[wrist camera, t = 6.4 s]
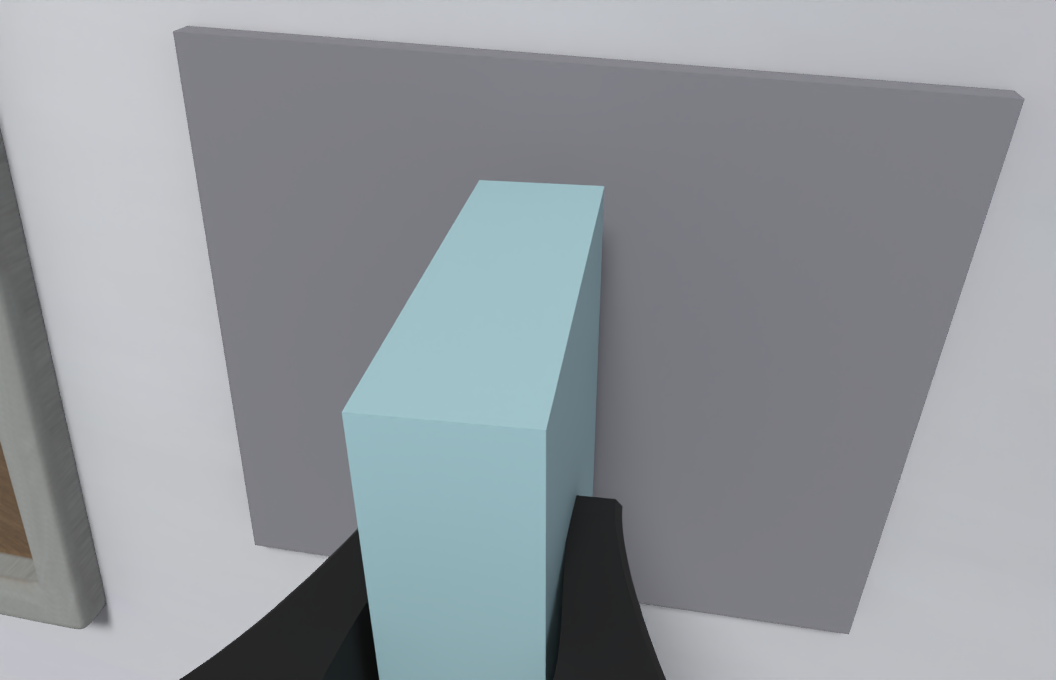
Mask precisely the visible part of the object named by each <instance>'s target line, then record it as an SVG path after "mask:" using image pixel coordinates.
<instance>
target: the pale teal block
mask: <svg viewBox="0 0 1056 680" xmlns="http://www.w3.org/2000/svg"><path fill="white" fill-rule="evenodd" d="M603 210H604V186H592V185H571V184H550V183H529V182H509V181H488V180H479V181H478V183H477V185H476V186H475V188H474V190H473V192H472V193H471V195H470V197H469V198H468V200H467V202H466V203H465V205H464V207H463V208H462V210H461V212H460V213H459V215H458V217H457V219H456V220H455V222H454V224H453V225H452V227H451V229H450V230H449V232H448V234H447V235H446V237H445V239H444V240H443V242H442V244H441V245H440V247H439V249H438V251H437V252H436V254H435V256H434V257H433V259H432V261H431V262H430V264H429V266H428V267H427V269H426V271H425V272H424V274H423V276H422V278H421V279H420V281H419V283H418V284H417V286H416V288H415V289H414V291H413V293H412V294H411V296H410V298H409V299H408V301H407V303H406V305H405V306H404V308H403V310H402V311H401V313H400V315H399V316H398V318H397V320H396V321H395V323H394V325H393V326H392V328H391V330H390V331H389V333H388V335H387V337H386V338H385V340H384V342H383V343H382V345H381V347H380V348H379V350H378V352H377V353H376V355H375V357H374V358H373V360H372V362H371V364H370V365H369V367H368V369H367V370H366V372H365V374H364V375H363V377H362V379H361V380H360V382H359V384H358V385H357V387H356V389H355V390H354V392H353V394H352V396H351V397H350V399H349V401H348V402H347V404H346V406H345V407H344V409H343V411H342V418H343V425H344V432H345V439H346V446H347V453H348V460H349V467H350V475H351V482H352V489H353V496H354V503H355V510H356V517H357V524H358V531H359V539H360V546H361V553H362V560H363V567H364V574H365V581H366V588H367V595H368V602H369V610H370V617H371V624H372V631H373V638H374V645H375V652H376V659H377V666H378V673H379V680H554V674H555V669H556V664H557V659H558V651H559V642H560V634H561V616H562V598H563V579H564V560H565V543H566V538H567V534H568V529H569V524H570V520H571V516H572V511H573V507H574V503H575V499H576V496H577V495H579V496H589V497H593V477H594V450H595V423H596V396H597V370H598V343H599V316H600V290H601V263H602V236H603Z"/></svg>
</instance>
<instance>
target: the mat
mask: <svg viewBox="0 0 1056 680" xmlns="http://www.w3.org/2000/svg"><path fill="white" fill-rule="evenodd" d="M173 34H174V40H175V47H176V53H177V59H178V65H179V72H180V78H181V84H182V90H183V97H184V103H185V109H186V115H187V122H188V128H189V134H190V141H191V147H192V153H193V159H194V166H195V172H196V178H197V184H198V191H199V197H200V203H201V209H202V216H203V222H204V228H205V234H206V241H207V247H208V253H209V259H210V266H211V272H212V278H213V285H214V291H215V297H216V303H217V310H218V316H219V322H220V328H221V335H222V341H223V347H224V353H225V360H226V366H227V372H228V378H229V385H230V391H231V397H232V403H233V410H234V416H235V422H236V429H237V435H238V441H239V447H240V454H241V460H242V466H243V472H244V479H245V485H246V491H247V497H248V504H249V510H250V516H251V522H252V529H253V535H254V541H255V545H259V546H265V547H272V548H279V549H285V550H292V551H298V552H305V553H312V554H318V555H325V556H331V555H332V554H333V553H334V552H335V551H336V550H337V549H338V548H339V547H340V546H341V545H342V544H343V543H344V542H345V541H346V540H347V539H348V538H349V537H350V536H351V535H352V534H353V533H354V532H355V531H356V529H357V528H358V524H357V517H356V510H355V503H354V496H353V489H352V482H351V475H350V467H349V460H348V453H347V446H346V439H345V432H344V425H343V418H342V411H343V409H344V407H345V406H346V404H347V402H348V401H349V399H350V397H351V396H352V394H353V392H354V390H355V389H356V387H357V385H358V384H359V382H360V380H361V379H362V377H363V375H364V374H365V372H366V370H367V369H368V367H369V365H370V364H371V362H372V360H373V358H374V357H375V355H376V353H377V352H378V350H379V348H380V347H381V345H382V343H383V342H384V340H385V338H386V337H387V335H388V333H389V331H390V330H391V328H392V326H393V325H394V323H395V321H396V320H397V318H398V316H399V315H400V313H401V311H402V310H403V308H404V306H405V305H406V303H407V301H408V299H409V298H410V296H411V294H412V293H413V291H414V289H415V288H416V286H417V284H418V283H419V281H420V279H421V278H422V276H423V274H424V272H425V271H426V269H427V267H428V266H429V264H430V262H431V261H432V259H433V257H434V256H435V254H436V252H437V251H438V249H439V247H440V245H441V244H442V242H443V240H444V239H445V237H446V235H447V234H448V232H449V230H450V229H451V227H452V225H453V224H454V222H455V220H456V219H457V217H458V215H459V213H460V212H461V210H462V208H463V207H464V205H465V203H466V202H467V200H468V198H469V197H470V195H471V193H472V192H473V190H474V188H475V186H476V185H477V183H478V181H479V180H488V181H509V182H529V183H550V184H571V185H592V186H604V210H603V236H602V263H601V290H600V316H599V343H598V370H597V396H596V423H595V450H594V477H593V497H600V498H610V499H616V500H617V501H618V502H619V503H620V504H621V505H622V506H623V508H622V526H623V536H624V543H625V549H626V554H627V559H628V564H629V569H630V573H631V577H632V581H633V585H634V588H635V592H636V595H637V598H638V602H639V603H644V604H651V605H657V606H664V607H671V608H677V609H684V610H691V611H697V612H704V613H711V614H717V615H724V616H731V617H737V618H744V619H751V620H757V621H764V622H770V623H777V624H784V625H790V626H797V627H804V628H810V629H817V630H824V631H830V632H837V633H844V634H849V632H850V629H851V626H852V623H853V620H854V617H855V614H856V611H857V608H858V605H859V602H860V598H861V595H862V592H863V589H864V586H865V583H866V580H867V577H868V574H869V571H870V568H871V565H872V562H873V559H874V556H875V553H876V550H877V547H878V544H879V541H880V538H881V535H882V531H883V528H884V525H885V522H886V519H887V516H888V513H889V510H890V507H891V504H892V501H893V498H894V495H895V492H896V489H897V486H898V483H899V480H900V477H901V474H902V471H903V468H904V464H905V461H906V458H907V455H908V452H909V449H910V446H911V443H912V440H913V437H914V434H915V431H916V428H917V425H918V422H919V419H920V416H921V413H922V410H923V407H924V404H925V401H926V397H927V394H928V391H929V388H930V385H931V382H932V379H933V376H934V373H935V370H936V367H937V364H938V361H939V358H940V355H941V352H942V349H943V346H944V343H945V340H946V337H947V334H948V330H949V327H950V324H951V321H952V318H953V315H954V312H955V309H956V306H957V303H958V300H959V297H960V294H961V291H962V288H963V285H964V282H965V279H966V276H967V273H968V270H969V267H970V263H971V260H972V257H973V254H974V251H975V248H976V245H977V242H978V239H979V236H980V233H981V230H982V227H983V224H984V221H985V218H986V215H987V212H988V209H989V206H990V203H991V200H992V196H993V193H994V190H995V187H996V184H997V181H998V178H999V175H1000V172H1001V169H1002V166H1003V163H1004V160H1005V157H1006V154H1007V151H1008V148H1009V145H1010V142H1011V139H1012V136H1013V133H1014V129H1015V126H1016V123H1017V120H1018V117H1019V114H1020V111H1021V108H1022V105H1023V102H1024V98H1023V97H1021V96H1020V95H1019V94H1018V93H1016V92H1015V91H1011V90H998V89H985V88H973V87H960V86H947V85H934V84H921V83H909V82H896V81H883V80H870V79H858V78H845V77H832V76H819V75H806V74H794V73H781V72H768V71H755V70H743V69H730V68H717V67H704V66H691V65H679V64H666V63H653V62H640V61H628V60H615V59H602V58H589V57H576V56H564V55H551V54H538V53H525V52H513V51H500V50H487V49H474V48H461V47H449V46H436V45H423V44H410V43H398V42H385V41H372V40H359V39H346V38H334V37H321V36H308V35H295V34H283V33H270V32H257V31H244V30H231V29H219V28H206V27H193V26H186V27H184V28H181V29H179V30H176V31H173Z"/></svg>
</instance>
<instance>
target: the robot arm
mask: <svg viewBox="0 0 1056 680" xmlns="http://www.w3.org/2000/svg"><path fill="white" fill-rule="evenodd" d="M622 508H623V506H622V505H621V504H620V503H619V502H618V501H617V500H616V499H610V498H600V497H589V496H579V495H577V496H576V499H575V503H574V507H573V511H572V516H571V520H570V524H569V529H568V534H567V538H566V543H565V560H564V579H563V598H562V616H561V634H560V642H559V651H558V659H557V664H556V669H555V674H554V680H666V679H665V676H664V674H663V671H662V669H661V666H660V664H659V661H658V658H657V656H656V653H655V650H654V647H653V645H652V642H651V639H650V637H649V634H648V631H647V628H646V625H645V622H644V619H643V616H642V612H641V609H640V605H639V602H638V598H637V595H636V592H635V588H634V585H633V581H632V577H631V573H630V569H629V564H628V559H627V554H626V549H625V543H624V536H623V526H622ZM180 680H379V673H378V666H377V659H376V652H375V645H374V638H373V631H372V624H371V617H370V610H369V602H368V595H367V588H366V581H365V574H364V567H363V560H362V553H361V546H360V539H359V531H358V528H357V529H356V531H355V532H354V533H353V534H352V535H351V536H350V537H349V538H348V539H347V540H346V541H345V542H344V543H343V544H342V545H341V546H340V547H339V548H338V549H337V550H336V551H335V552H334V553H333V554H332V555H331V556H330V557H329V558H328V559H327V560H326V561H325V562H324V563H323V564H322V565H321V566H320V567H319V568H318V569H317V570H316V571H315V572H313V573H312V574H311V575H310V576H309V577H308V578H307V579H306V580H305V581H304V582H303V583H301V584H300V585H299V586H298V587H297V588H296V589H295V590H294V591H293V592H291V593H290V594H289V595H288V596H287V597H286V598H285V599H284V600H283V601H281V602H280V603H279V604H278V605H277V606H276V607H275V608H274V609H272V610H271V611H270V612H269V613H268V614H267V615H265V616H264V617H263V618H262V619H261V620H259V621H258V622H257V623H256V624H255V625H253V626H252V627H251V628H250V629H248V630H247V631H246V632H245V633H243V634H242V635H241V636H240V637H238V638H237V639H236V640H234V641H233V642H232V643H230V644H229V645H228V646H226V647H225V648H224V649H222V650H221V651H220V652H219V653H217V654H216V655H214V656H213V657H212V658H210V659H209V660H207V661H206V662H205V663H203V664H202V665H200V666H199V667H197V668H196V669H194V670H193V671H192V672H190V673H189V674H187V675H186V676H184V677H183V678H181V679H180Z"/></svg>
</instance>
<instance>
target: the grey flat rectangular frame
mask: <svg viewBox="0 0 1056 680" xmlns="http://www.w3.org/2000/svg"><path fill="white" fill-rule="evenodd" d="M105 604H106V600H105V594H104V589H103V584H102V580H101V575H100V571H99V566H98V562H97V557H96V553H95V548H94V544H93V539H92V535H91V530H90V526H89V522H88V517H87V513H86V508H85V504H84V499H83V495H82V490H81V486H80V481H79V477H78V472H77V468H76V464H75V459H74V455H73V450H72V446H71V441H70V437H69V432H68V428H67V423H66V419H65V415H64V410H63V406H62V401H61V397H60V392H59V388H58V383H57V379H56V374H55V370H54V365H53V361H52V357H51V352H50V348H49V343H48V339H47V334H46V330H45V325H44V321H43V316H42V312H41V307H40V303H39V299H38V294H37V290H36V285H35V281H34V276H33V272H32V267H31V263H30V258H29V254H28V250H27V245H26V241H25V236H24V232H23V227H22V223H21V218H20V214H19V209H18V205H17V200H16V196H15V192H14V187H13V183H12V178H11V174H10V169H9V165H8V160H7V156H6V151H5V147H4V143H3V138H2V134H1V129H0V614H3V615H8V616H13V617H18V618H23V619H28V620H33V621H38V622H43V623H48V624H53V625H58V626H63V627H68V628H74V629H83V628H85V627H87V626H88V625H89V624H90V623H91V622H92V621H93V620H94V618H95V617H96V616H97V615H98V613H99V612H100V611H101V609H102V608H103V607H104V605H105Z"/></svg>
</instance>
